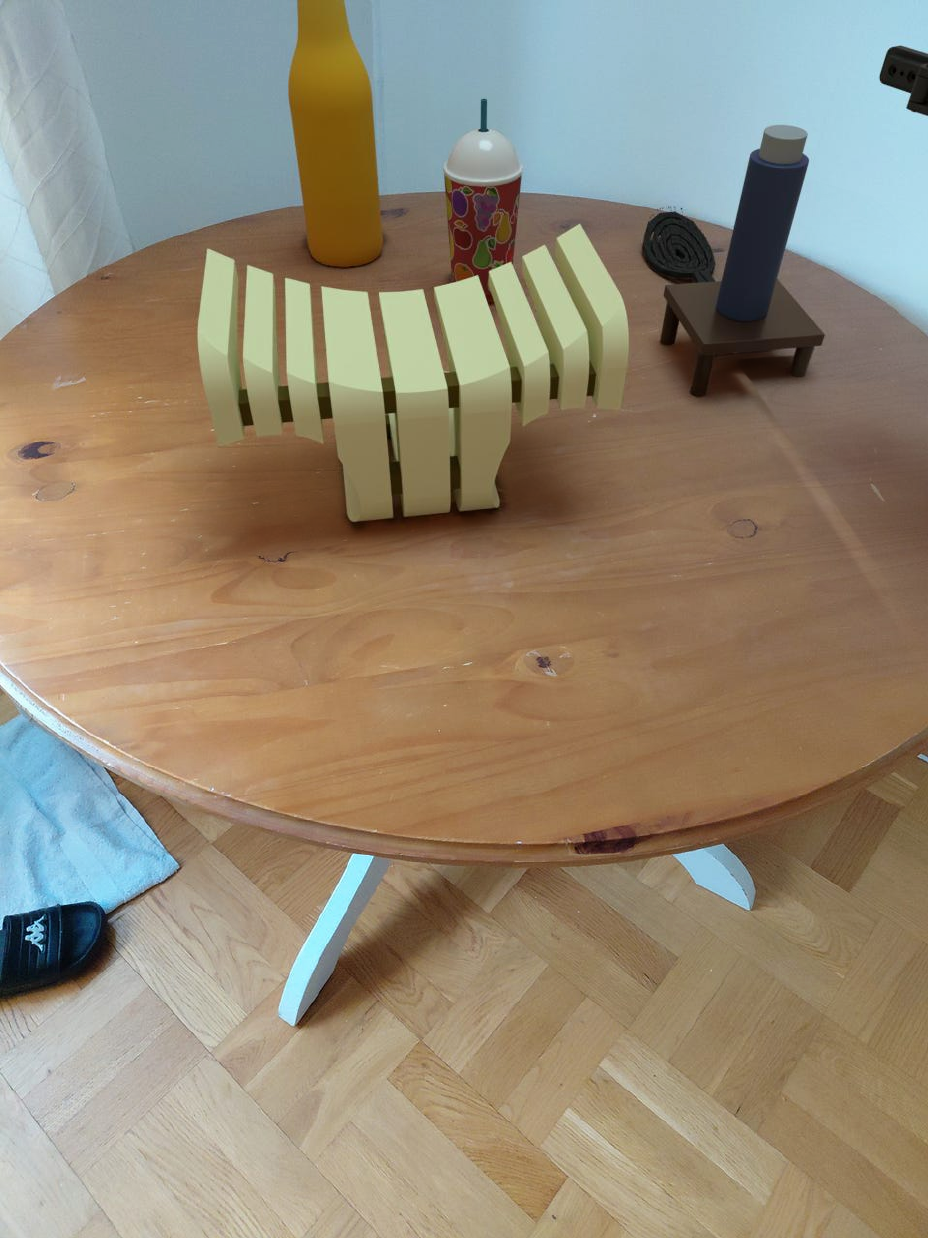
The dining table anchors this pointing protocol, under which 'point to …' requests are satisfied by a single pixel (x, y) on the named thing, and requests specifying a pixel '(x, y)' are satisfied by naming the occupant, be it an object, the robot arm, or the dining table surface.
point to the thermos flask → (763, 223)
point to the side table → (736, 328)
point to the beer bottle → (334, 138)
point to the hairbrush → (678, 248)
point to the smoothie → (482, 202)
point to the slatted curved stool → (417, 371)
